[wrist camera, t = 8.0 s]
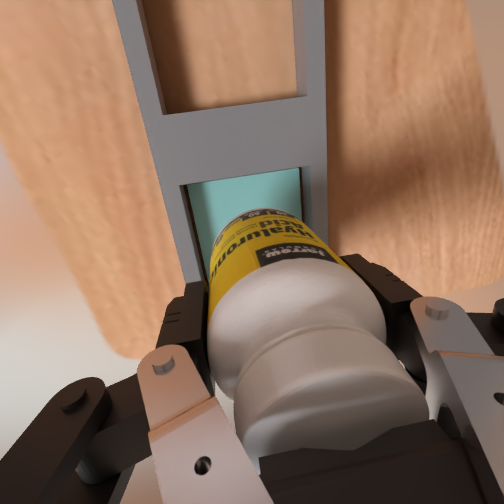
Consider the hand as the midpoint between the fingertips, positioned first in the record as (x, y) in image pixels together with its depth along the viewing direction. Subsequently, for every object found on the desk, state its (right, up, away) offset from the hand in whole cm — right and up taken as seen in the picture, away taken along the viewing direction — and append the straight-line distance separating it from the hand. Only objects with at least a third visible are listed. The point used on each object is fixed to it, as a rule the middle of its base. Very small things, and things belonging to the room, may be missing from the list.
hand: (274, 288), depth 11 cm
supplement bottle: (0, +1, +3) cm, 4 cm away
